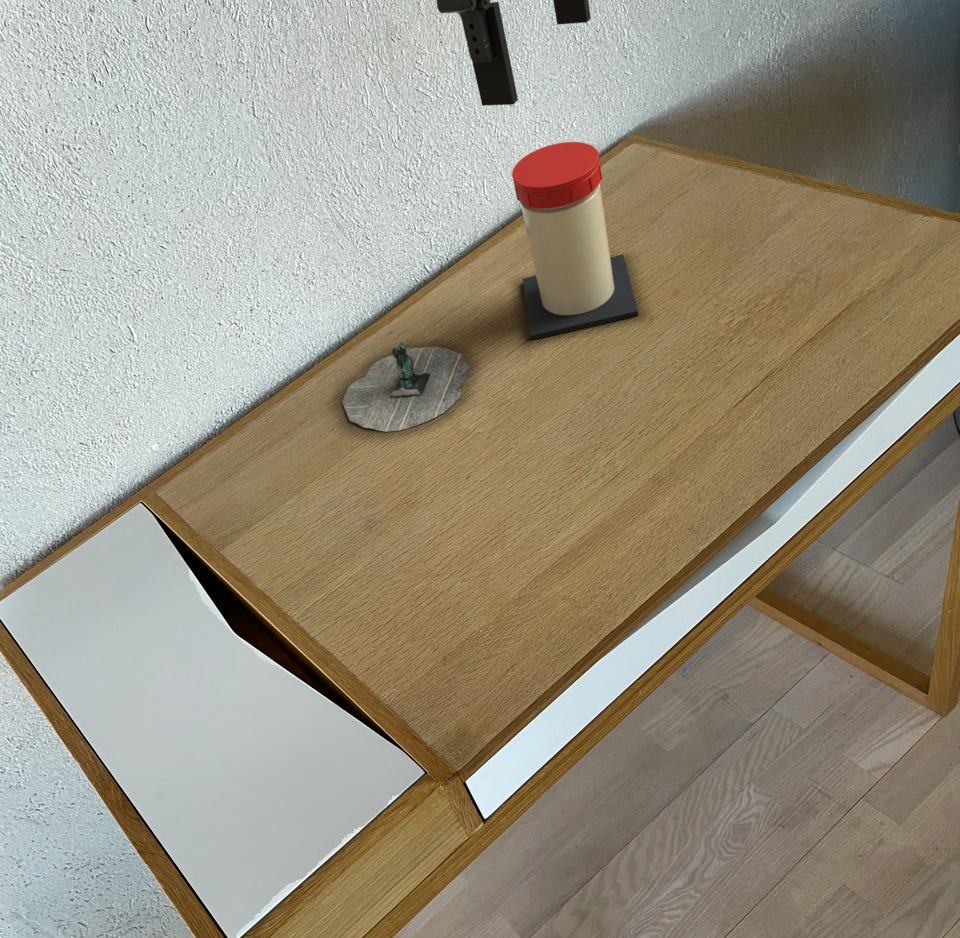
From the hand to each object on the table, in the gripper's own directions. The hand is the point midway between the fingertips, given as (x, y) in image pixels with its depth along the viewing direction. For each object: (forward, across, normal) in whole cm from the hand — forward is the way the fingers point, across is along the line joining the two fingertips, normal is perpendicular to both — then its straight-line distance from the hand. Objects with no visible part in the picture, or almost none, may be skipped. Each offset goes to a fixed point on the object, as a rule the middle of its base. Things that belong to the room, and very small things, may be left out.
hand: (538, 61), depth 74 cm
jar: (+21, 0, 0) cm, 21 cm away
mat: (+21, 0, 0) cm, 21 cm away
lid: (+9, 0, 0) cm, 9 cm away
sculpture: (+21, -15, +11) cm, 28 cm away
